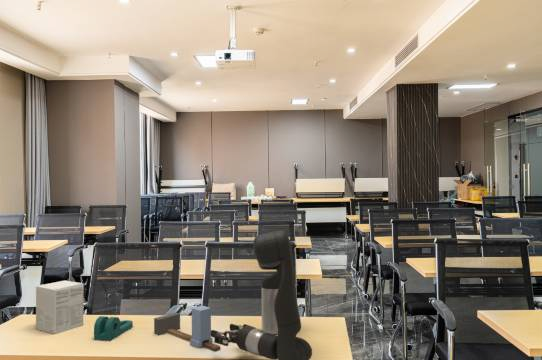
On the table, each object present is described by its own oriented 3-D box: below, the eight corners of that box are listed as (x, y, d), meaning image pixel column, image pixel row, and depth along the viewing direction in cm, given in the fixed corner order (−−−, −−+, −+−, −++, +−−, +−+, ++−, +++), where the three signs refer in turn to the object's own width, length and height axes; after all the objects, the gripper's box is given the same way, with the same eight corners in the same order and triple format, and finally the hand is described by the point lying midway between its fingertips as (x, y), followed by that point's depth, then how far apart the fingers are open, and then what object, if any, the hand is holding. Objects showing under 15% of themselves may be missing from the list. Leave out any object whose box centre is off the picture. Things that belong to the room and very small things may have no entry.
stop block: (175, 327, 169) (175, 312, 169) (180, 328, 167) (180, 313, 167) (154, 333, 161) (154, 318, 161) (158, 335, 159) (158, 319, 159)
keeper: (203, 340, 154) (203, 305, 154) (212, 343, 150) (212, 307, 151) (190, 344, 149) (190, 308, 149) (198, 348, 146) (198, 311, 146)
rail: (172, 331, 164) (172, 328, 164) (220, 349, 144) (220, 346, 144) (166, 332, 162) (166, 329, 162) (215, 351, 143) (215, 348, 143)
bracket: (110, 341, 154) (110, 320, 154) (94, 340, 155) (94, 319, 155) (135, 326, 171) (135, 307, 172) (121, 325, 173) (121, 306, 173)
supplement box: (84, 325, 173) (84, 283, 173) (54, 334, 161) (54, 289, 162) (65, 320, 180) (65, 279, 180) (34, 329, 168) (35, 285, 169)
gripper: (269, 323, 137) (236, 314, 148) (238, 334, 127) (204, 323, 137) (269, 346, 137) (236, 335, 148) (238, 359, 126) (204, 346, 137)
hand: (221, 329), depth 143 cm, fingers open, 8 cm apart
